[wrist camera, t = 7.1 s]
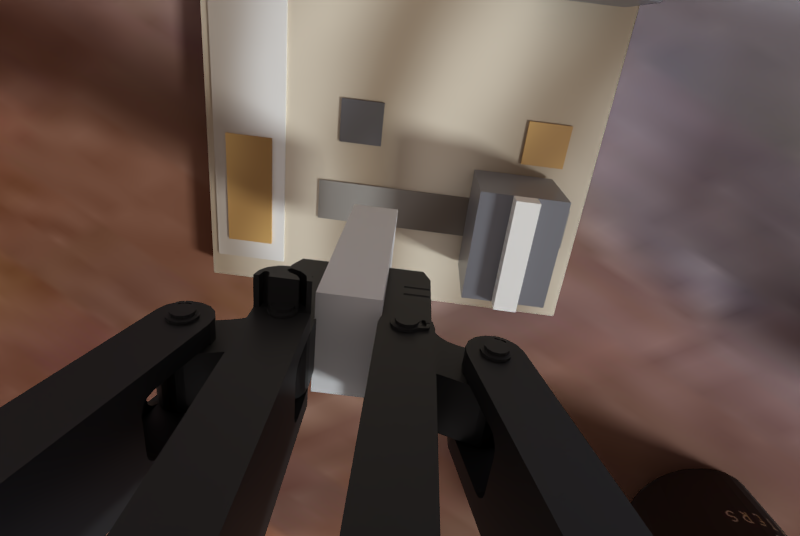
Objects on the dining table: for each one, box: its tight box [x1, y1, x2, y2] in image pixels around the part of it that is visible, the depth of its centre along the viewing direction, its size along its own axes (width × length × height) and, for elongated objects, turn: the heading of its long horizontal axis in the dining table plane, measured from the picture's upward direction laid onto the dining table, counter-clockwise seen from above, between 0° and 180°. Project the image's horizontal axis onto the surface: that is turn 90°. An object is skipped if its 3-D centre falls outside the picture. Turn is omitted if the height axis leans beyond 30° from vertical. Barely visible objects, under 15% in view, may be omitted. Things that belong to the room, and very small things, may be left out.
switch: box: [458, 170, 571, 312], centre depth 19 cm, size 3×4×4 cm
